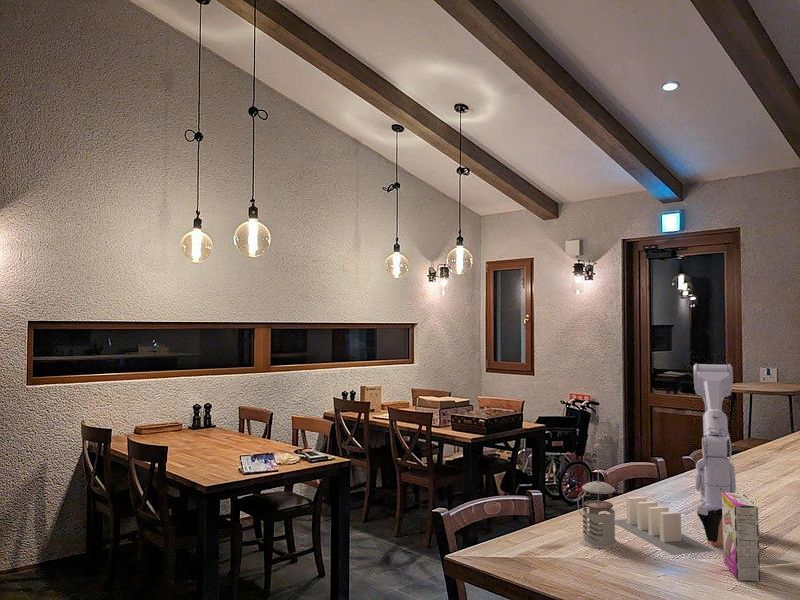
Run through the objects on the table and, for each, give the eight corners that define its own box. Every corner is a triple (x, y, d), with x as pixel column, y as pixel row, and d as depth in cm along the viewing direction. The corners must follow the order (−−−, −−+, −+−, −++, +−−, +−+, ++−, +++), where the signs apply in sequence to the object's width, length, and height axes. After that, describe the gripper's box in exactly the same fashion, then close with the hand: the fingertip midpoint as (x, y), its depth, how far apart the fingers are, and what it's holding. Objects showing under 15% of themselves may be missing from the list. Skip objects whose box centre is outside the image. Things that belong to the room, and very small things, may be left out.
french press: (598, 551, 164) (596, 448, 164) (566, 538, 174) (564, 441, 175) (628, 545, 168) (626, 444, 169) (594, 532, 178) (593, 437, 179)
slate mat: (609, 521, 187) (609, 520, 187) (647, 518, 190) (647, 517, 190) (671, 556, 160) (671, 554, 160) (715, 552, 163) (715, 550, 163)
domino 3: (648, 534, 175) (647, 507, 175) (665, 532, 176) (664, 505, 177) (652, 536, 174) (651, 508, 174) (669, 534, 175) (668, 507, 175)
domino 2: (637, 528, 180) (637, 502, 180) (653, 526, 181) (653, 500, 181) (640, 530, 179) (640, 503, 179) (657, 528, 180) (657, 502, 180)
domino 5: (707, 545, 168) (706, 516, 168) (724, 543, 169) (724, 515, 169) (711, 547, 166) (711, 518, 166) (729, 545, 167) (728, 517, 168)
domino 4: (659, 540, 170) (659, 512, 171) (677, 538, 171) (676, 511, 172) (663, 542, 169) (663, 514, 169) (681, 540, 170) (680, 512, 170)
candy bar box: (721, 562, 156) (720, 491, 156) (745, 564, 155) (743, 492, 155) (735, 581, 145) (734, 504, 145) (761, 583, 144) (759, 505, 144)
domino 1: (627, 522, 185) (626, 497, 185) (643, 521, 186) (642, 496, 186) (630, 524, 183) (629, 498, 184) (646, 523, 185) (646, 497, 185)
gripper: (716, 476, 176) (717, 529, 175) (686, 485, 167) (687, 540, 166) (743, 481, 170) (744, 536, 169) (713, 490, 161) (714, 548, 161)
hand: (718, 538), depth 168 cm, fingers closed on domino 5, 5 cm apart
